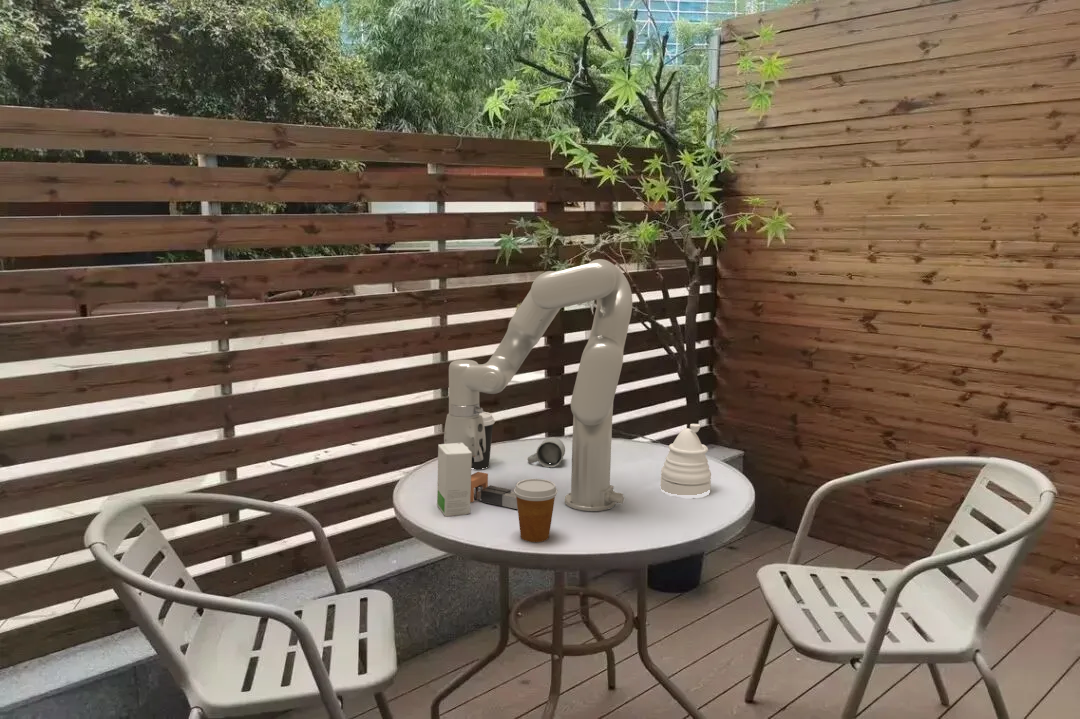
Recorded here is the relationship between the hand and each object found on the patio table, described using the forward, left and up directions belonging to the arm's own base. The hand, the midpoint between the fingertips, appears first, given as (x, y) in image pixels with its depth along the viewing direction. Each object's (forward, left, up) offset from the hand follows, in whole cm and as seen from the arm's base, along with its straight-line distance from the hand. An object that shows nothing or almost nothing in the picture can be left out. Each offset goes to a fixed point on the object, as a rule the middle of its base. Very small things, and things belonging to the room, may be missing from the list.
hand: (464, 480), depth 205 cm
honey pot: (-46, -34, -4) cm, 58 cm away
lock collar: (-3, 0, -4) cm, 5 cm away
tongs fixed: (-13, -1, -4) cm, 14 cm away
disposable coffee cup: (-28, +14, -4) cm, 32 cm away
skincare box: (-4, +10, -4) cm, 11 cm away
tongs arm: (-14, +1, -4) cm, 14 cm away
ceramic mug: (-5, -35, -4) cm, 35 cm away
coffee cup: (+11, -22, -4) cm, 25 cm away
